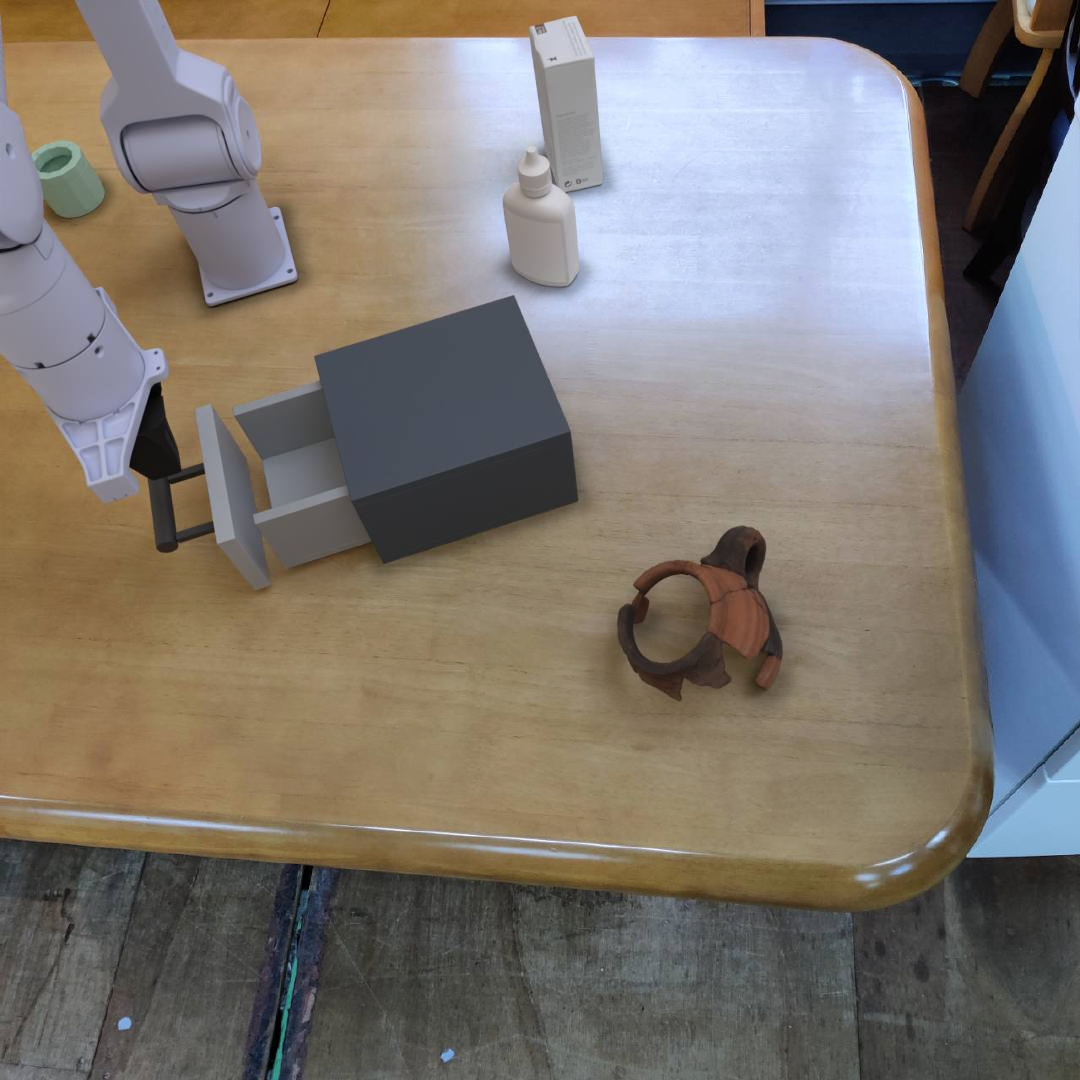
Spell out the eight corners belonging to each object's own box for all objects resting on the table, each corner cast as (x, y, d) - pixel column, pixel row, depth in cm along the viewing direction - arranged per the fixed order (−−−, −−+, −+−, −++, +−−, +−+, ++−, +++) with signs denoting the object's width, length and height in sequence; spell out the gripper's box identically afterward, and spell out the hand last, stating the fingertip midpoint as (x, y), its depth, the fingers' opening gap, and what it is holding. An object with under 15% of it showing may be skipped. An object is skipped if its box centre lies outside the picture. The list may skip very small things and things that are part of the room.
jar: (51, 189, 90) (24, 149, 87) (102, 174, 91) (78, 134, 87) (54, 224, 88) (26, 184, 84) (107, 208, 88) (82, 168, 84)
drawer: (188, 612, 66) (143, 567, 60) (170, 482, 71) (127, 428, 65) (440, 531, 67) (421, 479, 61) (403, 409, 72) (381, 350, 67)
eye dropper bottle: (542, 302, 78) (527, 183, 67) (506, 263, 80) (486, 142, 70) (586, 277, 78) (578, 156, 68) (549, 239, 81) (535, 116, 71)
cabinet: (383, 564, 67) (350, 500, 60) (347, 428, 73) (313, 355, 66) (578, 501, 68) (571, 431, 61) (526, 372, 74) (514, 294, 67)
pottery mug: (767, 740, 59) (706, 706, 53) (646, 697, 65) (579, 663, 59) (830, 562, 61) (777, 511, 55) (707, 538, 67) (648, 489, 62)
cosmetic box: (605, 184, 84) (600, 57, 73) (556, 196, 84) (543, 70, 73) (588, 140, 87) (581, 11, 76) (540, 151, 87) (527, 23, 76)
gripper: (140, 407, 47) (242, 540, 58) (115, 214, 54) (210, 368, 66) (-2, 451, 46) (130, 576, 58) (-8, 250, 53) (110, 398, 65)
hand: (165, 468), depth 62 cm, fingers closed
